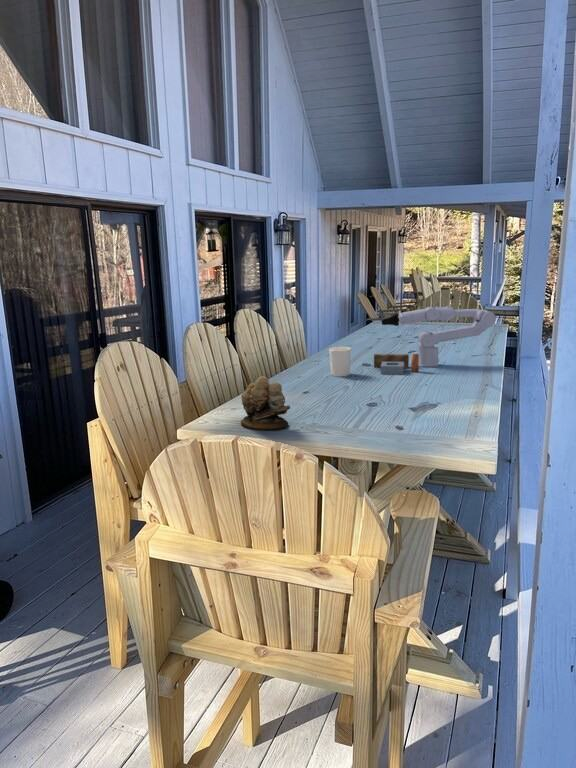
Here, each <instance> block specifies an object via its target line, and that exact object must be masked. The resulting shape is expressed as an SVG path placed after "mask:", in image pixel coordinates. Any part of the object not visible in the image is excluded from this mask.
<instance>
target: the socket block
mask: <svg viewBox="0 0 576 768" xmlns="http://www.w3.org/2000/svg"><path fill="white" fill-rule="evenodd" d="M404 370H405V368H404V362H382V364H381V368H380V375H404V372H405V371H404Z"/></svg>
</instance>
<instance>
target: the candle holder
mask: <svg viewBox="0 0 576 768" xmlns="http://www.w3.org/2000/svg"><path fill="white" fill-rule="evenodd" d="M351 350H352V348H351V347H347V346H334V347H329V348H328V353H329V354H328V355H329V365H330V375H331V376H332V375H333V376H332V377H335V376H344V377H348V376H350V374H351V354H352V353H351ZM347 375H348V376H347Z"/></svg>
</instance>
